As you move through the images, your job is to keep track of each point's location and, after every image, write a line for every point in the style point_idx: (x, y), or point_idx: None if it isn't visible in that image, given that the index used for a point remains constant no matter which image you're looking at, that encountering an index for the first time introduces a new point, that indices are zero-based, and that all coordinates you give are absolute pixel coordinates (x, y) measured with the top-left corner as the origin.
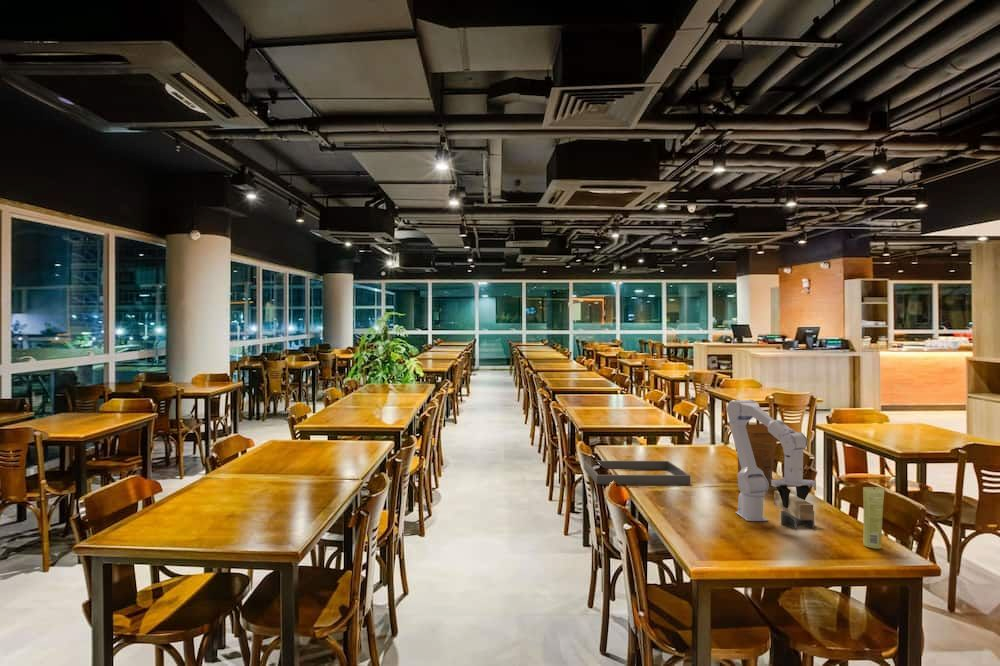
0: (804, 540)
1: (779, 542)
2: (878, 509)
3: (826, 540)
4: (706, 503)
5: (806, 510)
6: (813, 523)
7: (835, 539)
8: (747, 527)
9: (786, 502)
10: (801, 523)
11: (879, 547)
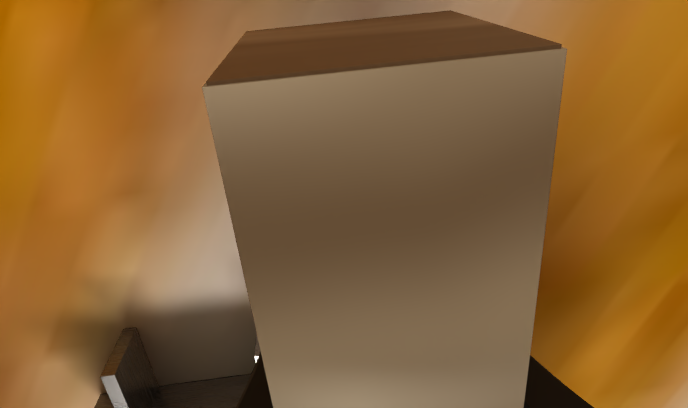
0: None
1: (552, 6)
2: None
3: (107, 100)
4: None
5: (374, 38)
6: (116, 357)
7: (18, 133)
8: (595, 292)
9: (532, 360)
10: (187, 390)
11: None
